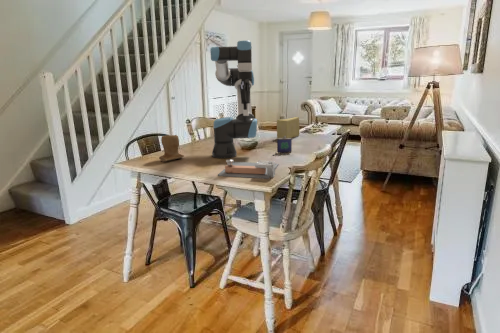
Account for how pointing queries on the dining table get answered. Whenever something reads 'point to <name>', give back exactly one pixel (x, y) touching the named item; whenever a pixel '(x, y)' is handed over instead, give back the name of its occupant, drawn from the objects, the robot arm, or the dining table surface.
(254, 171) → the link
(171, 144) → the brown boot
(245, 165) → the base board
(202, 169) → the dining table surface
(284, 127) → the cheese
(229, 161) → the silver metal knob
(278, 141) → the dark blue box
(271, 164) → the block
